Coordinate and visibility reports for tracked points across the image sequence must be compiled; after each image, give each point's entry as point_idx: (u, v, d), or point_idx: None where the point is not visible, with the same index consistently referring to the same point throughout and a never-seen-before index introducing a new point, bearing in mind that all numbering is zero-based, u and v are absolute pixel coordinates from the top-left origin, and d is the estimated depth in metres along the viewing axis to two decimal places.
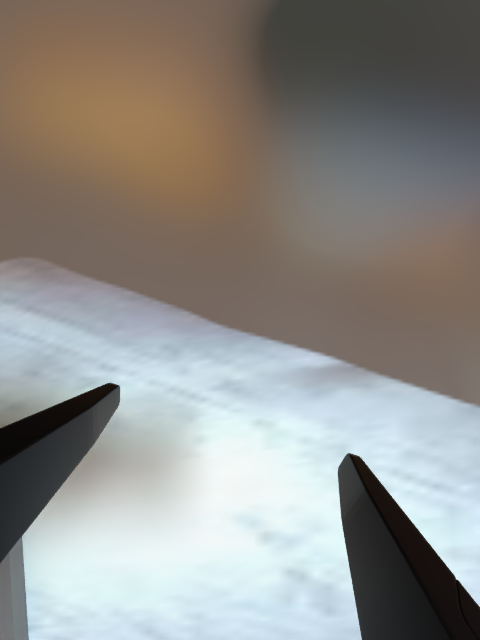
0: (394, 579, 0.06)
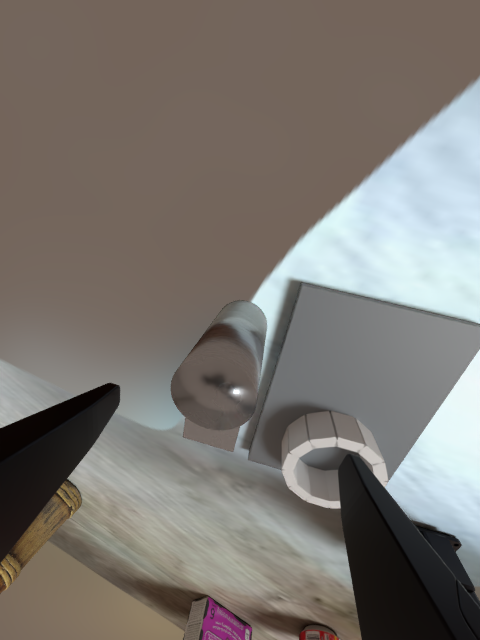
0: (394, 579, 0.06)
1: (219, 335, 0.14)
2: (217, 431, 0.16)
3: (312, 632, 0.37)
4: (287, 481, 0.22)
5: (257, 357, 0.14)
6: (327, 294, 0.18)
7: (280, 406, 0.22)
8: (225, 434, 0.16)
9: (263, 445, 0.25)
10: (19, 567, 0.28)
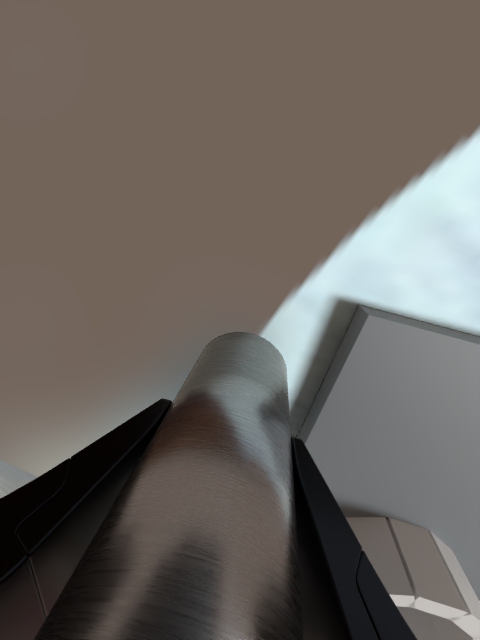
0: (307, 551, 0.06)
1: (180, 493, 0.05)
2: None
3: None
4: None
5: (292, 547, 0.05)
6: (418, 334, 0.09)
7: None
8: None
9: None
10: None
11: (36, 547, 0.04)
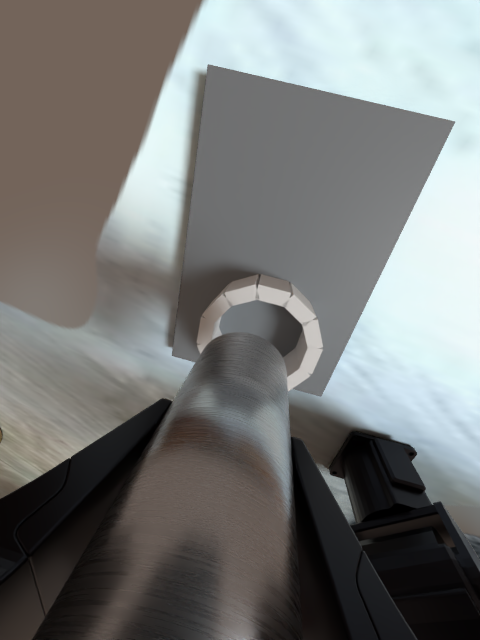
0: (307, 551, 0.06)
1: (179, 494, 0.05)
2: None
3: None
4: None
5: (292, 548, 0.05)
6: (241, 77, 0.13)
7: (200, 273, 0.18)
8: None
9: (187, 333, 0.20)
10: None
11: (36, 547, 0.04)
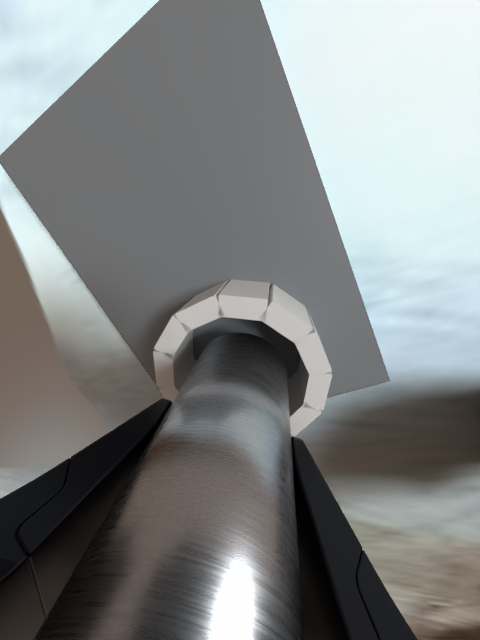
0: (307, 551, 0.06)
1: (179, 495, 0.05)
2: None
3: None
4: None
5: (292, 549, 0.05)
6: (24, 140, 0.12)
7: (145, 338, 0.15)
8: None
9: None
10: None
11: (36, 547, 0.04)
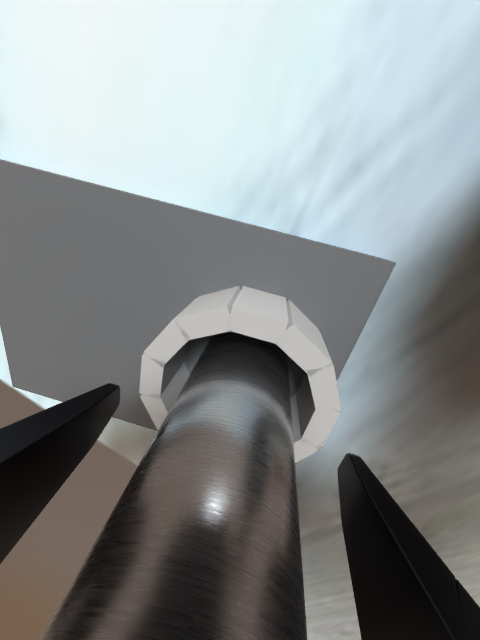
0: (394, 579, 0.06)
1: (194, 461, 0.05)
2: None
3: None
4: None
5: (293, 509, 0.06)
6: (11, 364, 0.16)
7: None
8: None
9: None
10: None
11: None
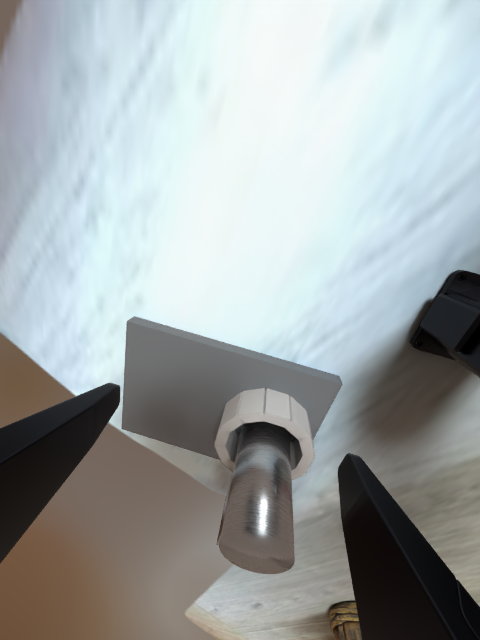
0: (394, 579, 0.06)
1: (258, 485, 0.16)
2: None
3: None
4: None
5: (290, 501, 0.16)
6: (124, 416, 0.26)
7: None
8: None
9: None
10: None
11: None
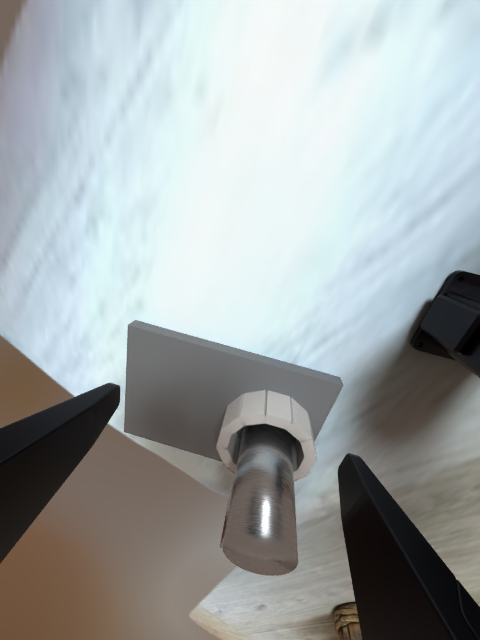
0: (394, 579, 0.06)
1: (260, 486, 0.16)
2: None
3: None
4: None
5: (293, 503, 0.16)
6: (126, 419, 0.26)
7: None
8: None
9: None
10: None
11: None
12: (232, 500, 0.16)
